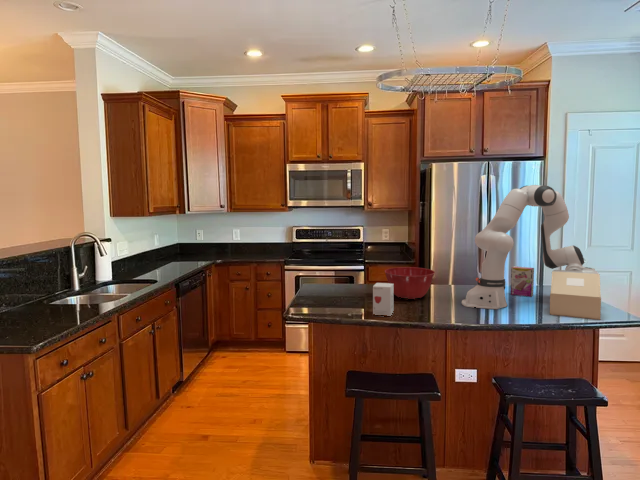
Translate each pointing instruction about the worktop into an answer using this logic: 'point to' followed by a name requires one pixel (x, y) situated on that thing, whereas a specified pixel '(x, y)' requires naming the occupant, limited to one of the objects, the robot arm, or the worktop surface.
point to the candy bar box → (522, 281)
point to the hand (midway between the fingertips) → (574, 277)
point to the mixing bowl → (410, 281)
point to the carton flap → (576, 284)
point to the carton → (575, 306)
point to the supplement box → (383, 299)
